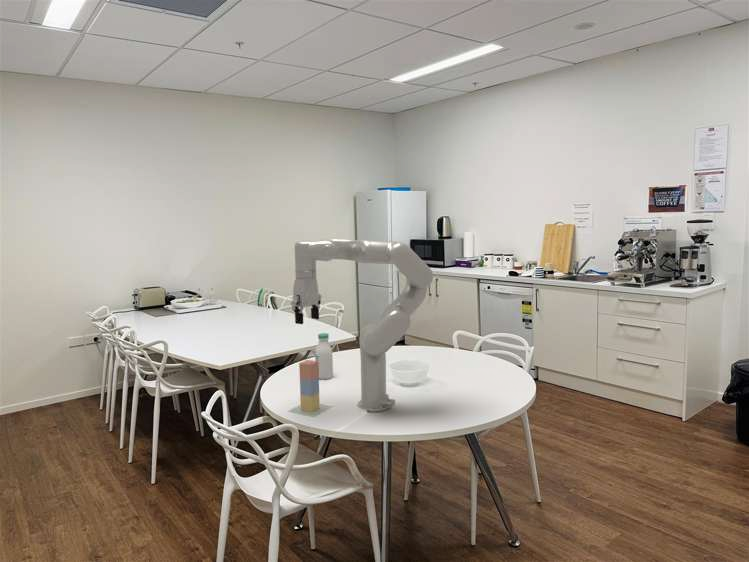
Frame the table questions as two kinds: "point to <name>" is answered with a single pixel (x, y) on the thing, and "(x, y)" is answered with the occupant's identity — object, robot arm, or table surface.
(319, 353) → the milk bottle
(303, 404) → the brick base
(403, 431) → the table surface
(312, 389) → the brick
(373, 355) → the robot arm
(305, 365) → the brick
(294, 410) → the build plate
